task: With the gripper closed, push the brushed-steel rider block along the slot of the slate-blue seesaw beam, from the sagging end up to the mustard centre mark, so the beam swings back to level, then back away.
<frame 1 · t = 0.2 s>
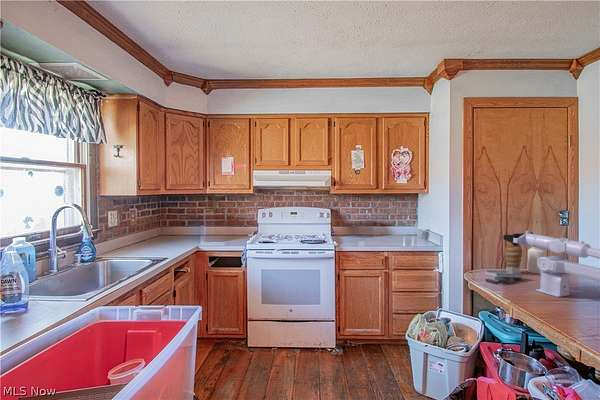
hand: (509, 236, 163), 21 cm above the table, tool horizontal, fingers open, 7 cm apart
stand: (503, 280, 163), on the table
rider: (512, 273, 165), point 3 cm above the table, tilted 6°, touching beam
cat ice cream: (512, 273, 179), on the table
beam: (504, 273, 163), point 3 cm above the table, hinge at 6.3°, touching rider
pill bottle: (536, 272, 181), on the table
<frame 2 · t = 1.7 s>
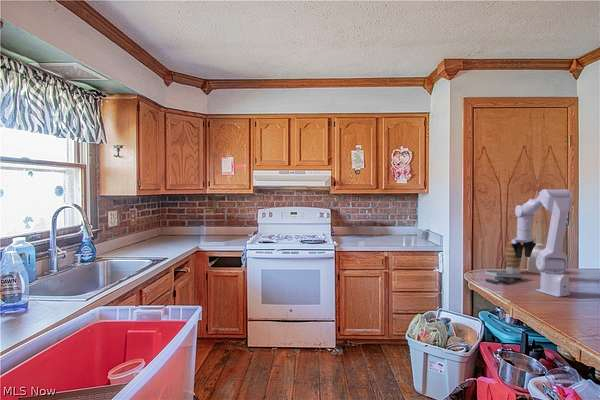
hand: (523, 257, 168), 10 cm above the table, tool pointing down, fingers open, 6 cm apart
beam: (504, 273, 163), point 3 cm above the table, hinge at 7.0°, touching rider
everything else where it was.
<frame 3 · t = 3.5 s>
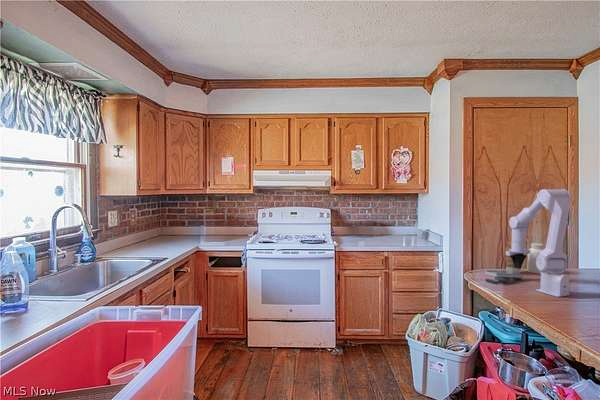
hand: (517, 269, 167), 5 cm above the table, tool pointing down, fingers closed
rider: (512, 273, 165), point 3 cm above the table, tilted 7°, touching beam, gripper
everything else where it was.
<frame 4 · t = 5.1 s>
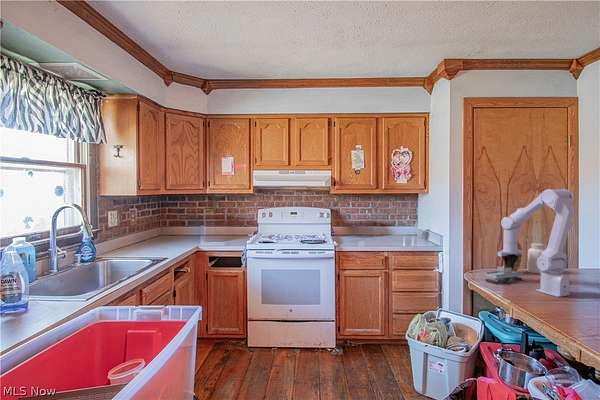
hand: (509, 270, 165), 5 cm above the table, tool pointing down, fingers closed
rider: (504, 273, 163), point 4 cm above the table, touching beam, gripper
beam: (504, 273, 163), point 3 cm above the table, hinge at 1.2°, touching rider
everything else where it was.
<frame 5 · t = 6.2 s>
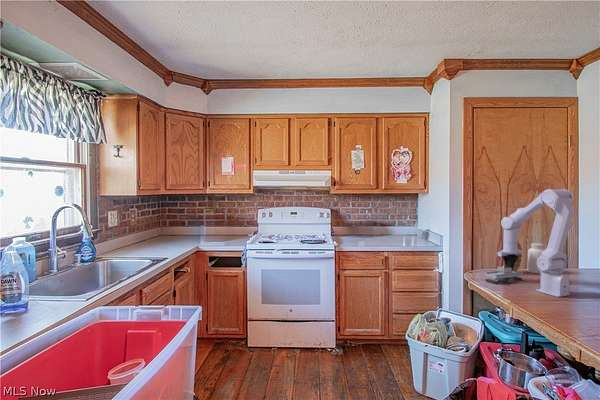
hand: (509, 270, 165), 5 cm above the table, tool pointing down, fingers closed
nothing on the table moved.
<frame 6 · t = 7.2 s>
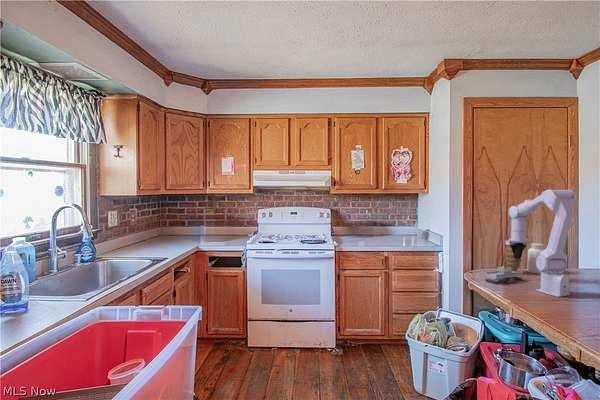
hand: (517, 258, 166), 10 cm above the table, tool pointing down, fingers closed
rider: (504, 273, 163), point 4 cm above the table, touching beam
beam: (504, 273, 163), point 3 cm above the table, hinge at 0.8°, touching rider
everything else where it was.
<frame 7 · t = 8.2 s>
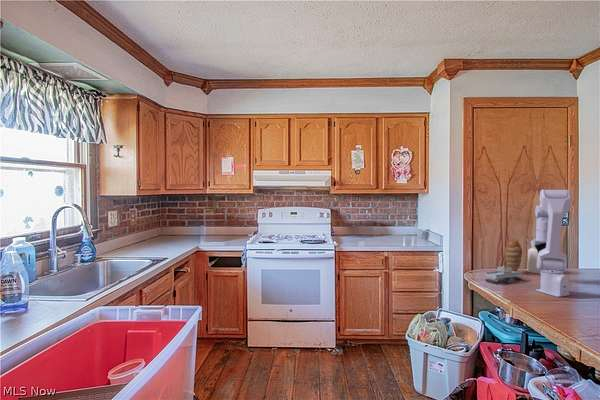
hand: (542, 259, 164), 10 cm above the table, tool pointing down, fingers closed
nothing on the table moved.
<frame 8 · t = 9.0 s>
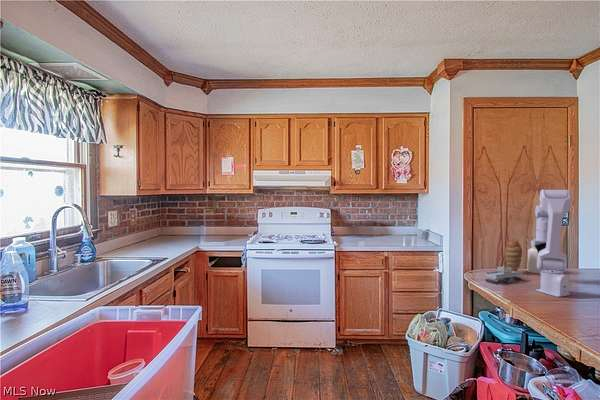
hand: (542, 259, 164), 10 cm above the table, tool pointing down, fingers closed
nothing on the table moved.
at the end: beam at +1° (first picture: +5°); rider 0.1 cm off-centre on the beam, point 1.1 cm above the beam's base; rider tilted 1° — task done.
